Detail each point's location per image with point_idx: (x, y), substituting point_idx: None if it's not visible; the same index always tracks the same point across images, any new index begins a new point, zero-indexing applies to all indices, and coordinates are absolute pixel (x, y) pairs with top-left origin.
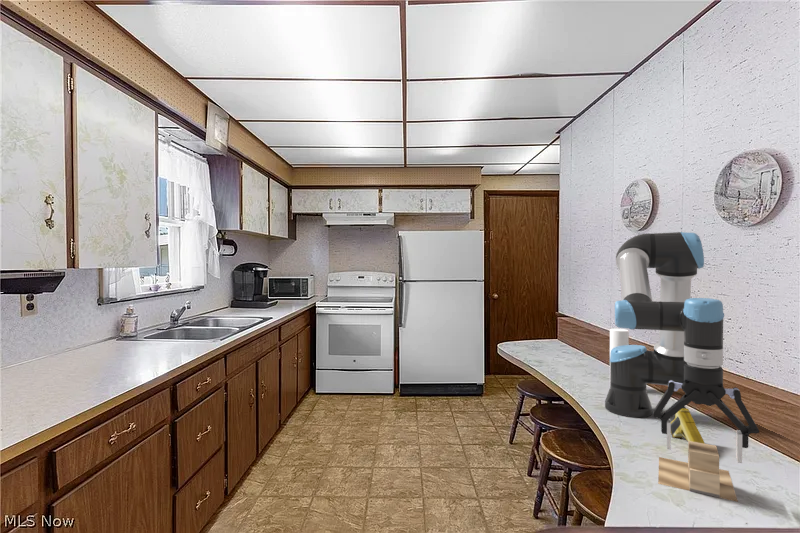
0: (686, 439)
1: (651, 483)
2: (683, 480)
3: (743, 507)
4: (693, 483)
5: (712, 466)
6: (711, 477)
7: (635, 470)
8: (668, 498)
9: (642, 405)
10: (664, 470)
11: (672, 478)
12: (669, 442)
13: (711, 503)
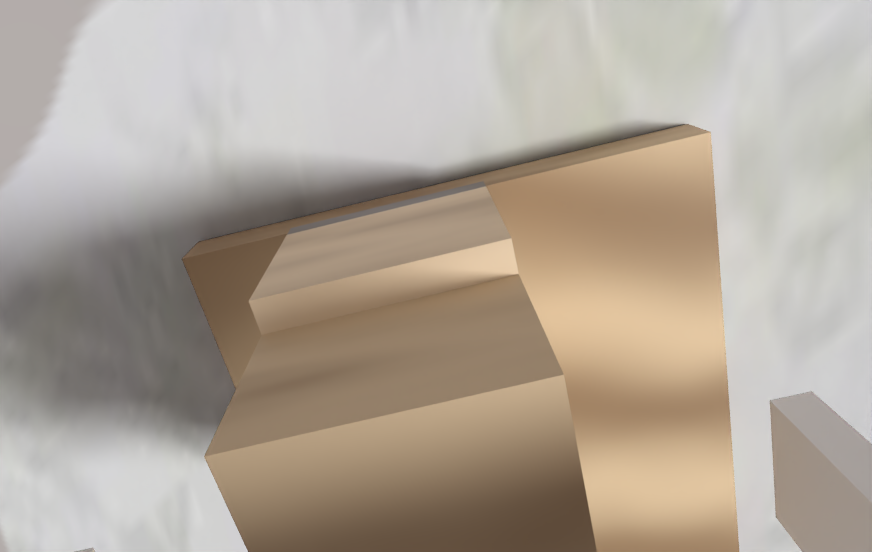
0: None
1: (740, 195)
2: (551, 327)
3: (177, 284)
4: (465, 206)
5: (308, 353)
6: (323, 270)
7: (858, 320)
8: (605, 33)
9: None
10: (688, 391)
11: (623, 301)
12: (844, 455)
13: (344, 189)
